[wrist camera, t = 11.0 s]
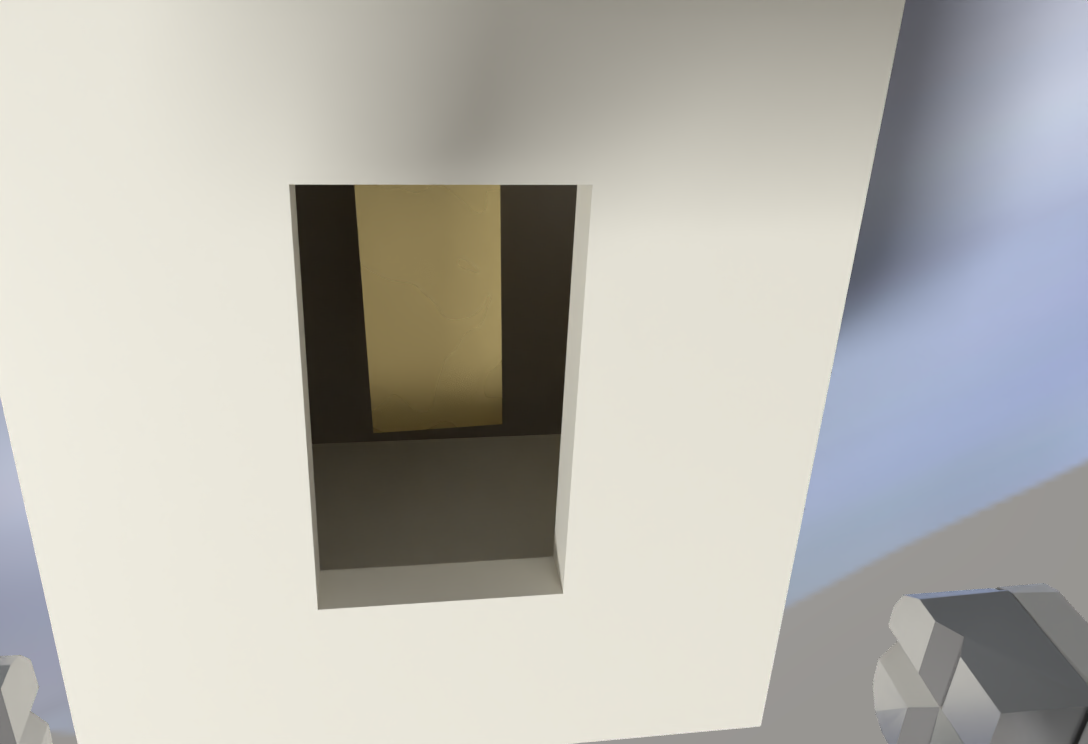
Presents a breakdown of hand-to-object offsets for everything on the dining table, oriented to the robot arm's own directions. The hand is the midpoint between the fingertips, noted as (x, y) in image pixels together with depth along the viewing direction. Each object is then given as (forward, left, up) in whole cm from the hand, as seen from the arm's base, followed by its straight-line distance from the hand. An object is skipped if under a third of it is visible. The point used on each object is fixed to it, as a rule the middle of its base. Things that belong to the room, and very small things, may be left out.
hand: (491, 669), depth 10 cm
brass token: (+1, 0, -15) cm, 15 cm away
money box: (+1, 0, -16) cm, 16 cm away
